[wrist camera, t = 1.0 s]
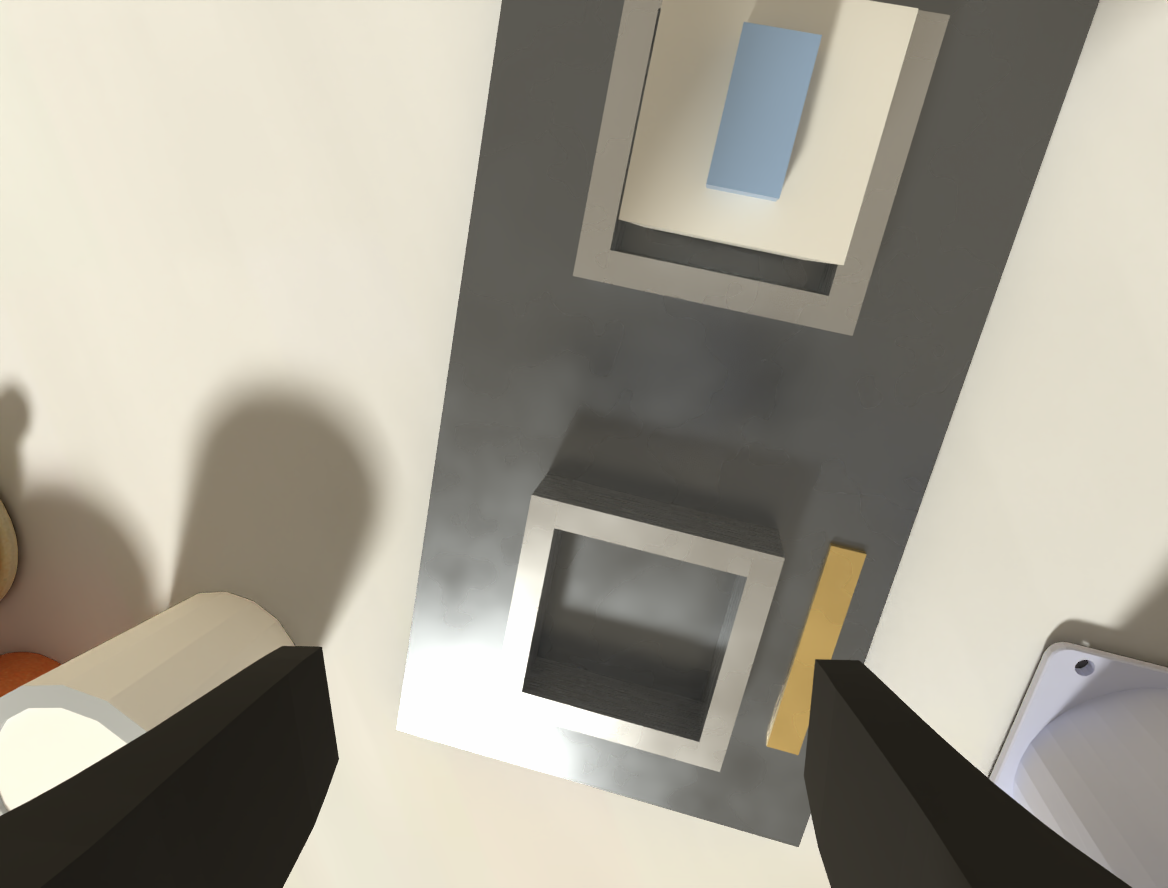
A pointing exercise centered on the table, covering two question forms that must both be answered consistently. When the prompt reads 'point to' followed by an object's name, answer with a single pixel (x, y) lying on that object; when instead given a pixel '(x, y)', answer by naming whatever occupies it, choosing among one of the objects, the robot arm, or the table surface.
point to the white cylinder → (125, 689)
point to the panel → (700, 414)
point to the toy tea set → (3, 560)
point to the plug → (765, 121)
